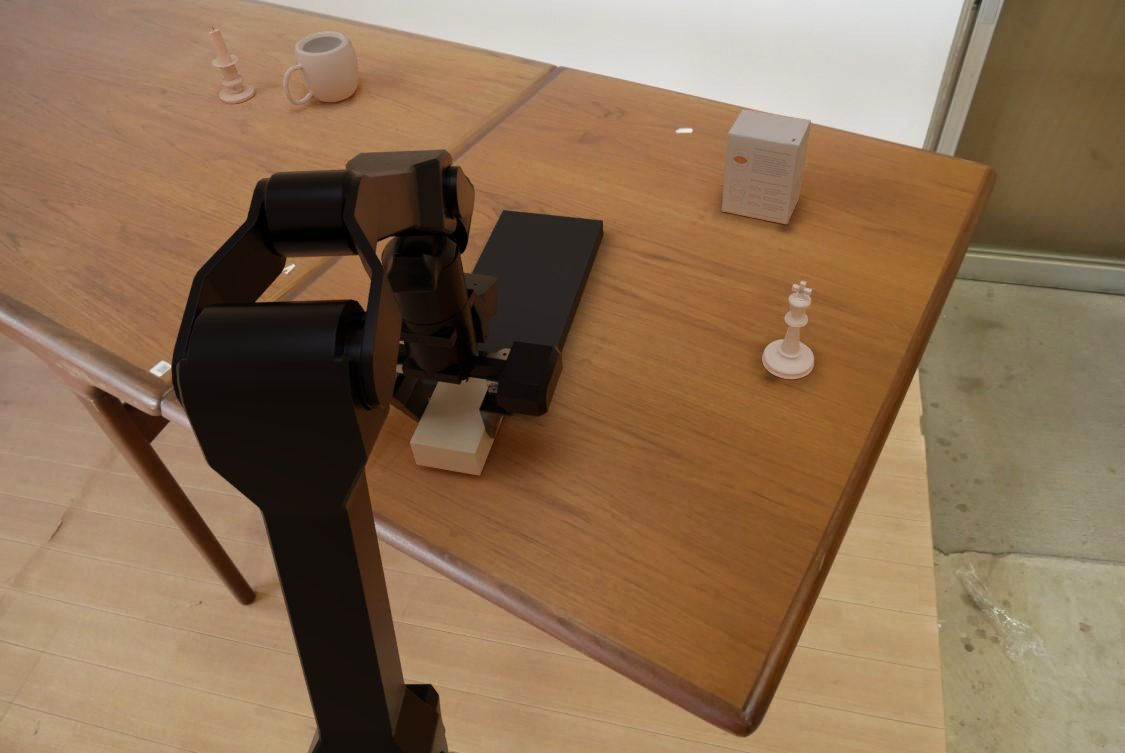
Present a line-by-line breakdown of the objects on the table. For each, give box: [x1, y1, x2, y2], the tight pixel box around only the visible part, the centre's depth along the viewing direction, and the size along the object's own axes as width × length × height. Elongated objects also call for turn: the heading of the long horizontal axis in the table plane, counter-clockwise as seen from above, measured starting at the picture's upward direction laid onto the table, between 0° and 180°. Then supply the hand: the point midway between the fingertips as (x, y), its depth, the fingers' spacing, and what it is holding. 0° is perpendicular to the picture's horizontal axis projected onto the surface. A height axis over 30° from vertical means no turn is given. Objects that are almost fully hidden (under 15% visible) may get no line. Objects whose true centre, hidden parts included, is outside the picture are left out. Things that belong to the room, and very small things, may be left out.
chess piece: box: [761, 280, 815, 380], centre depth 78 cm, size 5×5×10 cm
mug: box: [282, 30, 360, 106], centre depth 120 cm, size 12×8×8 cm
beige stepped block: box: [409, 377, 504, 476], centre depth 77 cm, size 12×6×3 cm, turn 166°
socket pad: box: [422, 209, 604, 399], centre depth 89 cm, size 28×12×2 cm, turn 166°
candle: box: [209, 26, 256, 105], centre depth 122 cm, size 5×5×10 cm
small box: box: [721, 108, 812, 225], centre depth 95 cm, size 8×6×10 cm
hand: (460, 429), depth 76 cm, fingers closed on beige stepped block, 6 cm apart
